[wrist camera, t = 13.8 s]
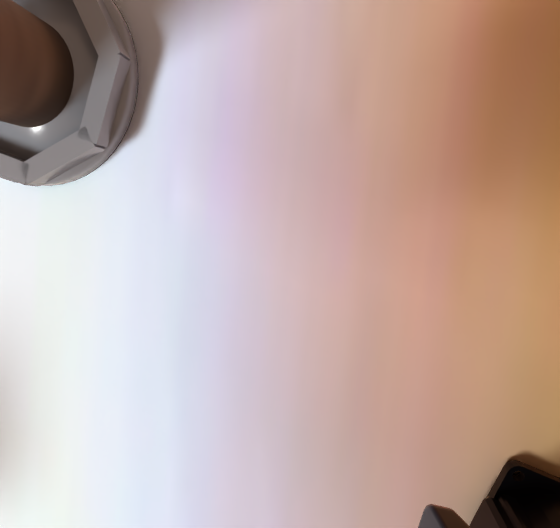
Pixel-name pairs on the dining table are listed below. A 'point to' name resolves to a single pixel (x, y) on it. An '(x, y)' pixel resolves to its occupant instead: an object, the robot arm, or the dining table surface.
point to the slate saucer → (78, 97)
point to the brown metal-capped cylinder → (31, 68)
